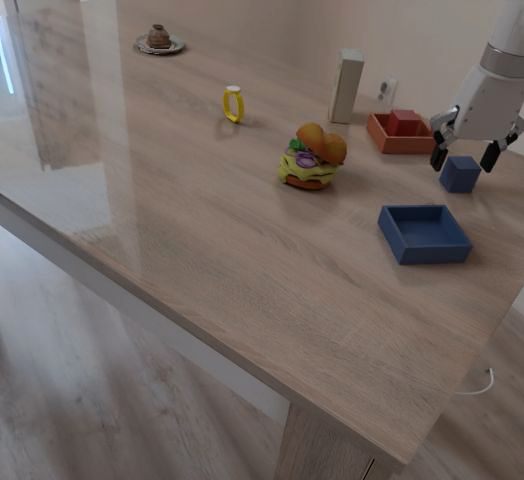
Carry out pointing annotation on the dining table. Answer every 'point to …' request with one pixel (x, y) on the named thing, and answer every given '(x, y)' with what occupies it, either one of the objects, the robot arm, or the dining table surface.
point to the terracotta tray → (393, 144)
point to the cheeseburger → (312, 157)
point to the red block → (402, 123)
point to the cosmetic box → (346, 85)
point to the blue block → (460, 174)
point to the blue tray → (423, 234)
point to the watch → (240, 105)
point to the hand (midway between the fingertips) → (459, 168)
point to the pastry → (160, 40)
